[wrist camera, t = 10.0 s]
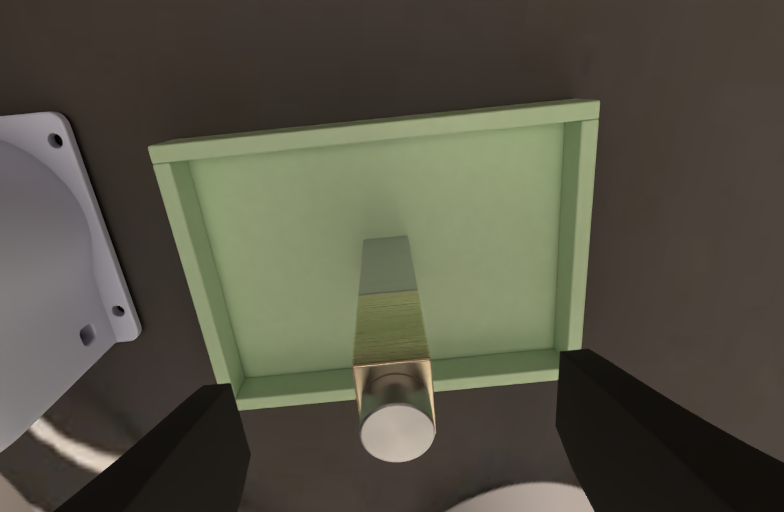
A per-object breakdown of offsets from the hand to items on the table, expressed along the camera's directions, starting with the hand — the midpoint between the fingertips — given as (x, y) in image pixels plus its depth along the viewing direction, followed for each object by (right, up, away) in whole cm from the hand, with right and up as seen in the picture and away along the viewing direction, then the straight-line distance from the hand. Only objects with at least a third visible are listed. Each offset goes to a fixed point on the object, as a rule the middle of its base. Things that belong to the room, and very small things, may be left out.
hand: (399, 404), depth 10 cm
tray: (0, +3, +9) cm, 9 cm away
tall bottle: (0, +3, +8) cm, 9 cm away
